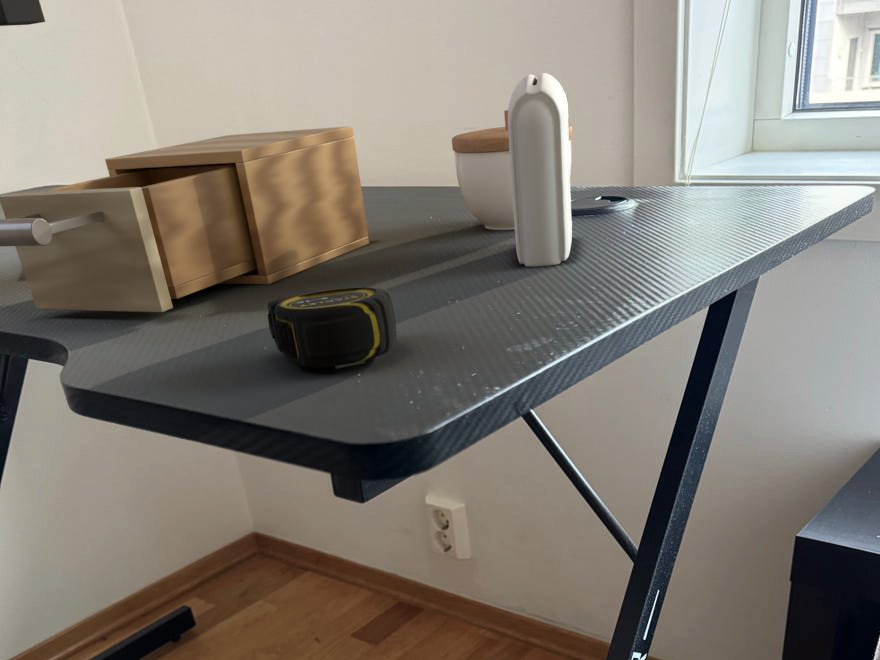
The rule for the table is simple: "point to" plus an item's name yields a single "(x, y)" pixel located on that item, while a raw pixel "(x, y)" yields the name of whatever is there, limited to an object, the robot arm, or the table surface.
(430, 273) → the table surface
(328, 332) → the tape measure
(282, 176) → the cabinet
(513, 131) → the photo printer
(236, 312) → the table surface
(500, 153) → the white lidded jar
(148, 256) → the drawer
